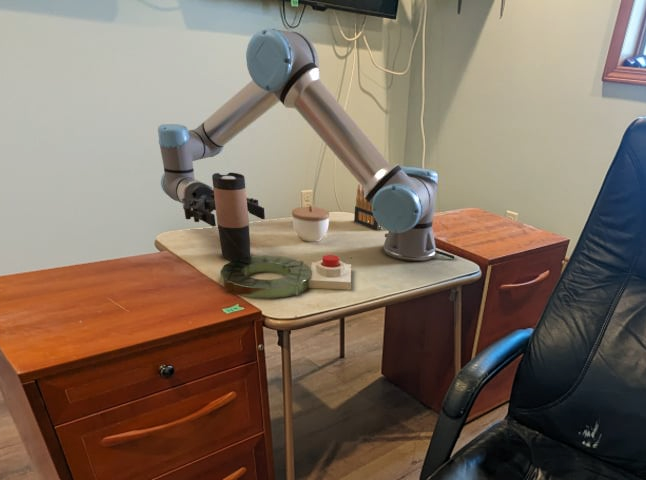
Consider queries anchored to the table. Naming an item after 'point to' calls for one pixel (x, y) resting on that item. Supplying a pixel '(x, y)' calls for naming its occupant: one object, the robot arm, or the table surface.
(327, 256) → the switch button
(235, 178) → the travel mug
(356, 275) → the table surface
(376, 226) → the ammunition clip
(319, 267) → the switch box
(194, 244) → the table surface
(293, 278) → the ring
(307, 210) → the trinket box
